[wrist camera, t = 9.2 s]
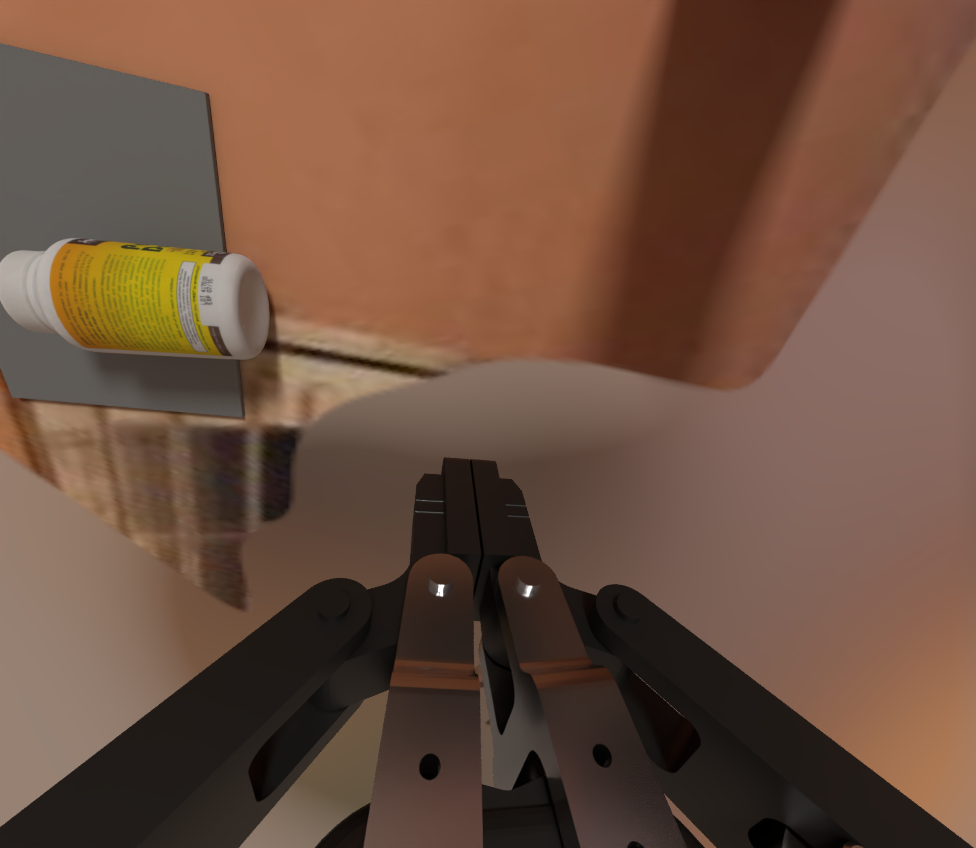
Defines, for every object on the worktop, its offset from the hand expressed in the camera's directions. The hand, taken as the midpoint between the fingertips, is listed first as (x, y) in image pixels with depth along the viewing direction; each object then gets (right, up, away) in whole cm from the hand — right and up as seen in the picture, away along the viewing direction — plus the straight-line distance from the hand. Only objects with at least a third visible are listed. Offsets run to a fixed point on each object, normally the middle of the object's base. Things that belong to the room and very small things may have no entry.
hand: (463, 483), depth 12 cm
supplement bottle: (-12, +8, +10) cm, 18 cm away
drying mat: (-21, +11, +11) cm, 26 cm away
